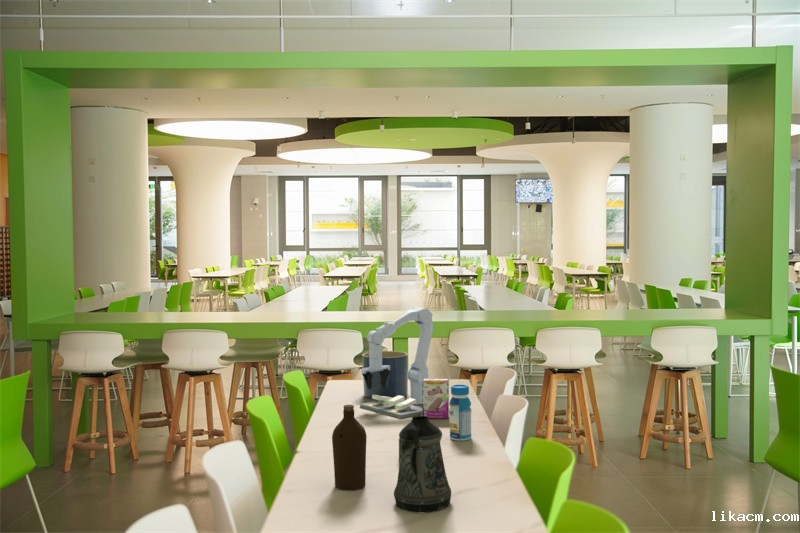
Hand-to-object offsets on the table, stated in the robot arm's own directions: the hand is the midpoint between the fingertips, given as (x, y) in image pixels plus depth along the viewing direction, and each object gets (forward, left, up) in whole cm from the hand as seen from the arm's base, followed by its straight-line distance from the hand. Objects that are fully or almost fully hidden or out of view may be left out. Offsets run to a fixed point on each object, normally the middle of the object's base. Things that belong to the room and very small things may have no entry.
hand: (376, 387), depth 352 cm
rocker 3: (-3, +17, -5) cm, 18 cm away
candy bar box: (-7, +32, -10) cm, 35 cm away
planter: (-20, -21, -10) cm, 31 cm away
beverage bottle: (+8, +64, -10) cm, 66 cm away
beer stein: (+66, +112, -10) cm, 130 cm away
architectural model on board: (+38, +74, -10) cm, 84 cm away
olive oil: (+72, +84, -10) cm, 111 cm away
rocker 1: (-3, 0, -5) cm, 6 cm away
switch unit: (-3, +8, -9) cm, 13 cm away
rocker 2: (-3, +8, -5) cm, 11 cm away
